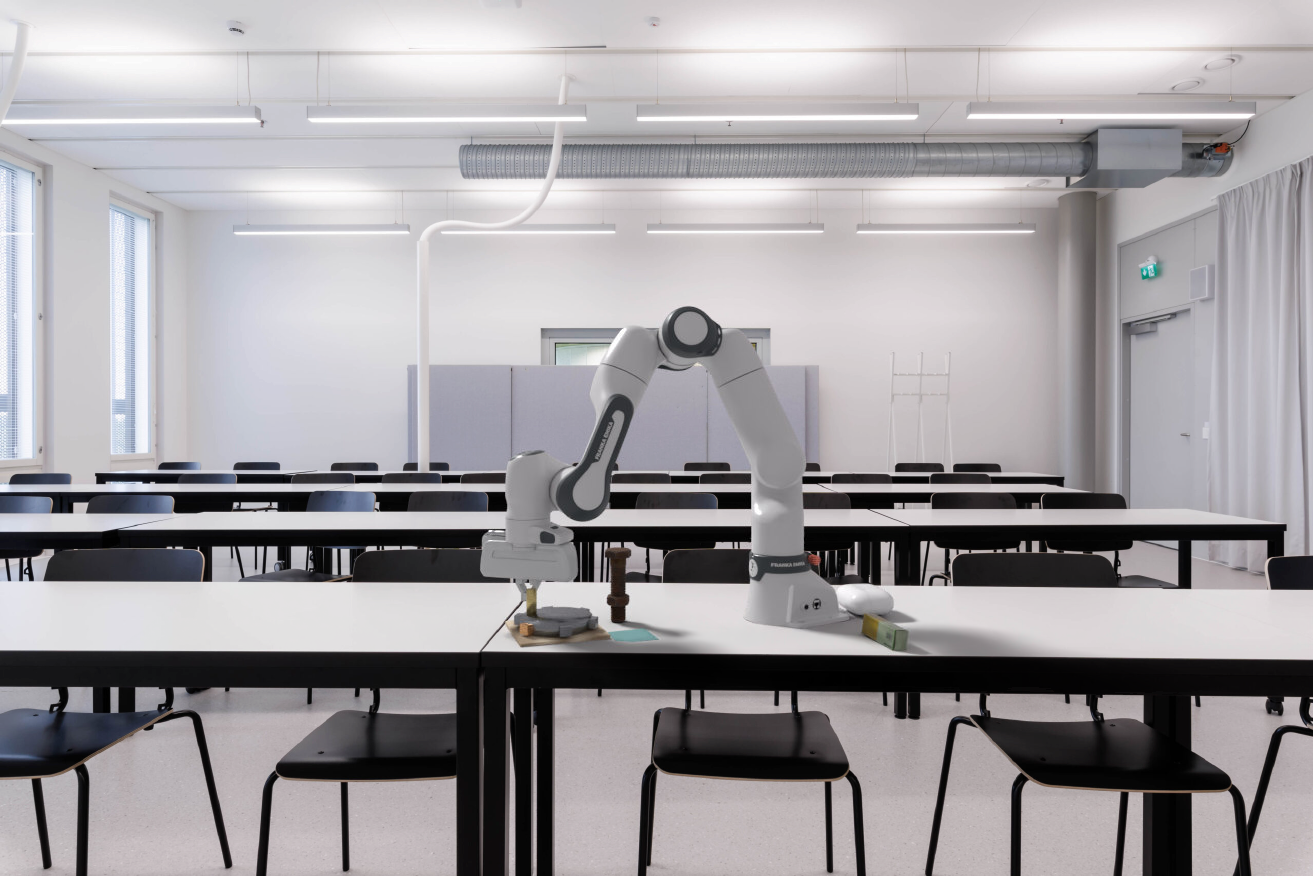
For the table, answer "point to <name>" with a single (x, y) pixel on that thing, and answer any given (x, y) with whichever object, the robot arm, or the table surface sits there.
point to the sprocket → (553, 619)
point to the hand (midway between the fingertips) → (528, 601)
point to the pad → (632, 635)
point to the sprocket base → (542, 640)
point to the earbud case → (865, 599)
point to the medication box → (885, 632)
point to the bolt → (618, 582)
